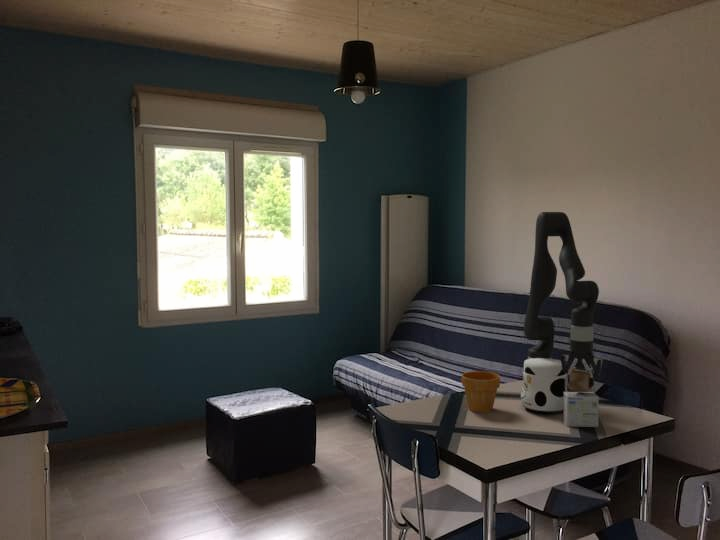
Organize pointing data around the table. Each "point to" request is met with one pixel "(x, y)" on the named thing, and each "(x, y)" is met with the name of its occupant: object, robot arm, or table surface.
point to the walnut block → (579, 381)
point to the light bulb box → (581, 409)
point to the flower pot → (480, 390)
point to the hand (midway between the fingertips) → (580, 386)
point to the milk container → (543, 385)
